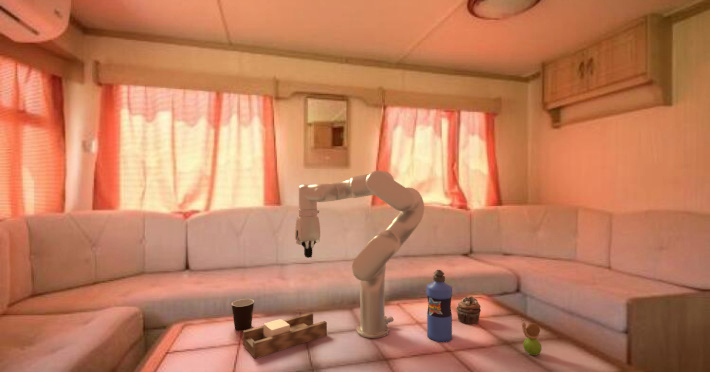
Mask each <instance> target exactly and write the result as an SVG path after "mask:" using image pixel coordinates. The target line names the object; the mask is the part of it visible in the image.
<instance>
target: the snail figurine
mask: <svg viewBox="0 0 710 372" xmlns="http://www.w3.org/2000/svg"><path fill="white" fill-rule="evenodd" d="M520 320H521V328H522V332H523V334H524V337H526V338H525V339H524V341H523V343H522V345H523V346H522V347H523V349H524V351H525V352H526V353H528V354H529V355H531V356H537V355H539V354H540V353H541V352H542V348H543V347H542V344H541V342H540V341H539V340H538V338H539V337H540V332H541V329H540V326H539V325H538V324H536V323H533V322H531V323H529V324H528V325H527V323H526V322H524V321H525V319H524V318H521V319H520Z"/></svg>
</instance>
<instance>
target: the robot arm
mask: <svg viewBox="0 0 710 372" xmlns="http://www.w3.org/2000/svg"><path fill="white" fill-rule="evenodd" d="M370 196H376V197H377V198H379V199H380V200H382V201H383V202H384V203H385V204H387V205H388V206H390V207H391V208H393V209H394V210H396V211H397V212H398V211H399V213H398V215H396V216H395V218H394V219H393V220H392V222H390V224H389V225H388V226H387V227H386V228H385V229H384V230H383V231H381V232H379V233H377V234H375V235H374V236H373V237H372V238H371V239H370V240H369V241H368V243H367V244H366V245H365V246H364V247H363V249H361V251H360V252H359V253H358V255H357V256H356V257H355V258H354V260H353V262H352V265H351V272H352V274H353V276H354V277H355V278H356V280H358V281H359V304H360V305H359V306H360V307H359V308H360V309H359V312H360V314H359V321H360V322H359V324H358V325H357V326H356V328H355V329H356V333H357V335H359V336H361V337H363V338H367V339H378V338H382V337H385V336H387V335H388V334H389V332H390V331H389V326H388V324H389V323H393V322H394V317H393V316H388V317H387V316H386V315H385V282H386V279H385V277H386V268H387V267H386V264H387V263H388V262H389V261H390V259H392V257H393V256H395V255H396V254H397V253H398V252H399V251H400V249H401V248H402V246H403V245H404V244H405V243H406V242H407V240H408V239H409V238H410V236H411V235H412V234H413V233H414V232H415V230H416V229H417V228H418V226H419V225H420V223H421V222H422V219H423V217H424V214H425V202H424V200H423V197H422V195H421V193H420V192H419V191H418V190H417V189H416V188H413V187H405V186H404V185H402V184H400V183H399V182H397V181H396V180H395V178H394V176H393V175H392V174H391V173H390V172H388V171H383V170H374V171H372V172H370V173H366V174H362V175H355V176H352V177H351V178H349V179H347V180H344V181H341V182H334V183H317V184H301V185H299V186H298V217H296V222H295V229H294V230H295V231H294V240H296V242H295V244H296V245H301V246H302V248H303V252H304V253H303V254H304V257H305V258H306V259H307V258H311V259H312V257H313V248H314V246H315V244H316V243H319V242H320V240H321V226H320V219H319V216H318V214H320V210H318V203H326V202H327V203H328V202H334V201H341V200H348V199H357V198H364V197H370Z"/></svg>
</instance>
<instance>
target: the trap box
mask: <svg viewBox="0 0 710 372" xmlns="http://www.w3.org/2000/svg"><path fill="white" fill-rule="evenodd" d="M283 320H284V321H285V322H287V323H288V324H289V325H290V331H289V332H285V333H282V334H279V335H275V336H272V337H268V338H267V337H266V336H265V335H264V325H261V326H258V327H251V328H249V329H247V330H243V331H242V345H243V346H244V348H245V349H246V350H247V352H248V353H249V354H250V355H251V356H252V357H253V358H254V359H258V358H261V357H265V356H267V355H270V354H273V353H277V352H280V351H283V350H286V349H289V348H292V347H296V346H298V345H301V344H304V343H308V342H311V341H313V340H317V339H320V338H323V337H326V336H328V329H327V328H328V323H327V321H325V320H324V321H320V322H316V323H314V313H313V312H309V313H305V314H301V315H297V316H294V317H290V318H286V319H283Z"/></svg>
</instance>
